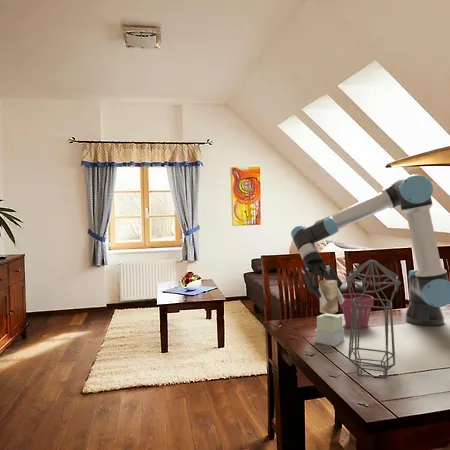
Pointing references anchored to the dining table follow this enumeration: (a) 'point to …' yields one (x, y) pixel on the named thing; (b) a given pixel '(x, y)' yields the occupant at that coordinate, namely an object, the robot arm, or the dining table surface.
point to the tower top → (329, 322)
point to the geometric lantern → (354, 307)
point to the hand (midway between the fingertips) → (333, 303)
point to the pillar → (329, 296)
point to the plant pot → (364, 310)
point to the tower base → (329, 337)
